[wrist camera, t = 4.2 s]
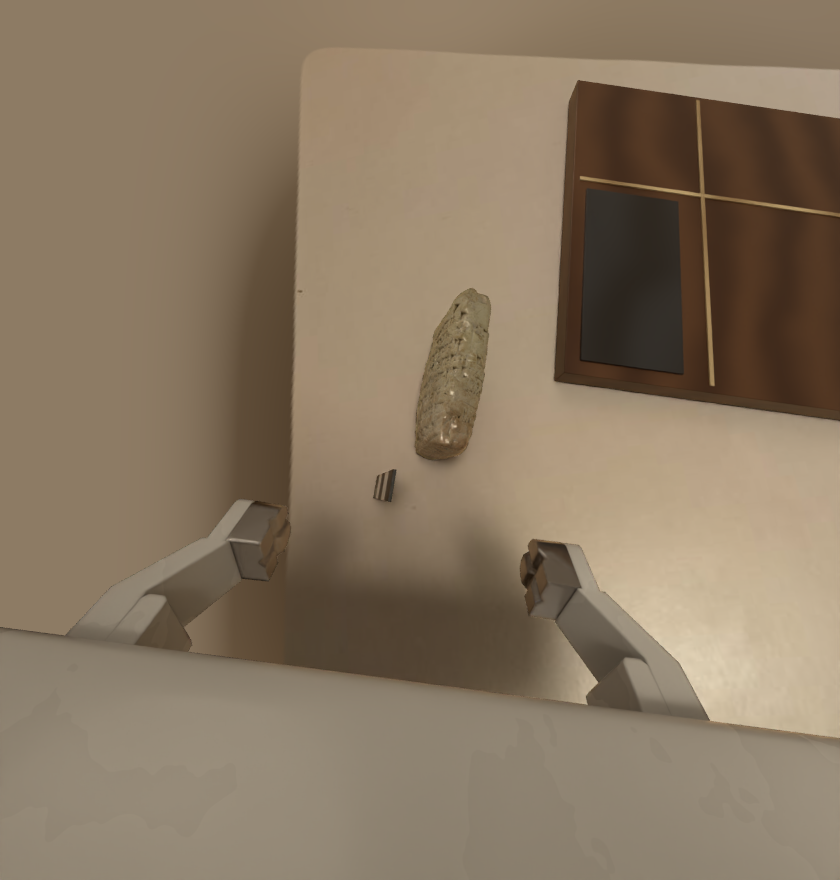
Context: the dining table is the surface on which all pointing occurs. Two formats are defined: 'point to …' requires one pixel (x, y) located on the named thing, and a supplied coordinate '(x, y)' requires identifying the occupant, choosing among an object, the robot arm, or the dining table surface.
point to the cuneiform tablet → (449, 384)
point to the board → (701, 251)
